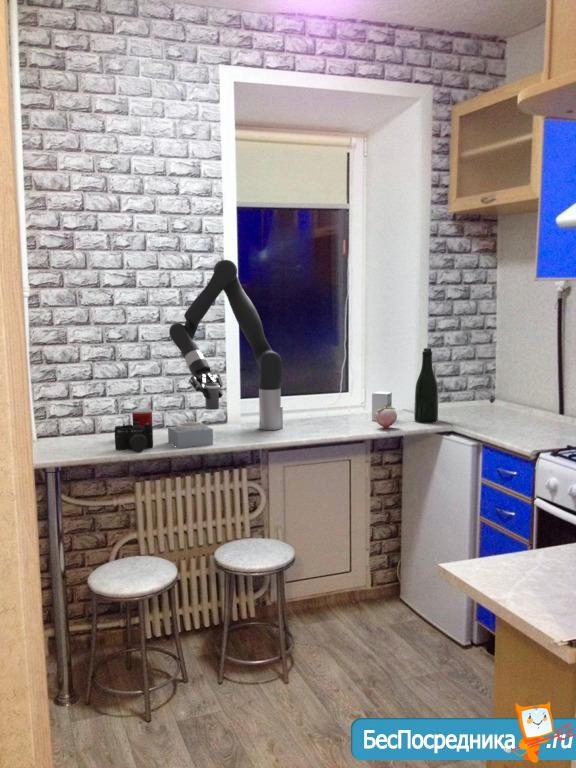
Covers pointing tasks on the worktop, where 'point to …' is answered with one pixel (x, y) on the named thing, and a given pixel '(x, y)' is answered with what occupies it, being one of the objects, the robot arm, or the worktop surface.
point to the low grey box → (190, 434)
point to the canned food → (142, 416)
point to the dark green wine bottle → (426, 391)
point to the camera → (134, 437)
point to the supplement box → (380, 402)
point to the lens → (212, 396)
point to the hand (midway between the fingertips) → (214, 397)
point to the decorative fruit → (386, 416)
